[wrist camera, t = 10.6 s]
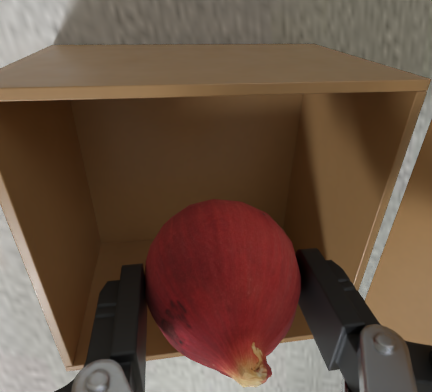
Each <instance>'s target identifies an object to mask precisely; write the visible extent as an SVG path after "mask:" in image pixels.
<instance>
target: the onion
mask: <svg viewBox="0 0 432 392" xmlns="http://www.w3.org/2000/svg"><path fill="white" fill-rule="evenodd" d="M300 292H301V274H300V271H299V267H298V263H297V259H296V256H295V252H294V248H293V244H292V242H291V240H290V239H289V237H288V236H287V235H286V233H285V232H284V231H283V229H282V228H281V227H280V226H279V225H278V224H277V223H276V222H275V221H274V220H273V219H272V218H271V216H270V215H269V214H268V213H266V212H264V211H261V210H259V209H257V208H255V207H253V206H250V205H248V204H246V203H244V202H240V201H231V200H220V199H210V200H207V201H203V202H199V203H195V204H191V205H189V206H187V207H186V208H184V209H183V210H181V211H180V212H178V213H177V214H175V215H174V216H172V217H171V218H170V219H169V220H168V221H167V222H166V223H165V224H164V225H163V226H162V228H161V229H160V231H159V232H158V234H157V236H156V237H155V239H154V240H153V242H152V243H151V245H150V248H149V252H148V255H147V259H146V265H145V298H146V303H147V305H148V308H149V310H150V312H151V315H152V317H153V318H154V320H155V322H156V323H157V325H158V327H159V328H160V330H161V332H162V333H163V335H164V336H165V338H166V339H167V340H168V341H169V343H170V344H171V345H172V346H173V347H174V348H175V349H176V350H177V351H179V352H180V353H181V354H183V355H184V356H186V357H188V358H189V359H191V360H193V361H195V362H198V363H200V364H202V365H204V366H207V367H209V368H212V369H215V370H217V371H219V372H220V373H222V374H224V375H226V376H228V377H230V378H233V379H234V380H235V381H237V382H238V383H239V384H240V385H241V386H243V387H249V386H252V387H258V386H259V385H261V384H263V383H265V382H266V380H267V379H268V378H269V377H271V375H272V372H271V368H270V366H269V365H268V364H267V361H266V356H267V355H269V354H270V353H271V352H272V351H273V350H274V349H275V348H276V346H277V345H278V344H279V343H280V342H281V341H282V340H283V338H284V337H285V336H286V334H287V333H288V331H289V329H290V328H291V325H292V323H293V321H294V318H295V314H296V309H297V305H298V301H299V296H300Z"/></svg>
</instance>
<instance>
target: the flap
mask: <svg viewBox="0 0 432 392" xmlns="http://www.w3.org/2000/svg"><path fill="white" fill-rule="evenodd" d="M365 302H366V304H367V305H368V307H369V308H370V310H371V311H372V313H373V314H374V316H375V317H376V319H377V320H378V322H379V323H380V324H381V325H383V326H386V327H388V328H390V329H392V330H394V331H395V332H396V333H398V334H399V335H400V336H401V337H402V338H403V339H404V340H405V341H409V342H414V343H419V344H425V345H431V346H432V120H431V122H430V125H429V128H428V131H427V133H426V136H425V139H424V141H423V144H422V147H421V150H420V152H419V155H418V158H417V160H416V163H415V166H414V169H413V171H412V174H411V177H410V179H409V182H408V185H407V188H406V190H405V193H404V196H403V198H402V201H401V204H400V207H399V209H398V212H397V215H396V217H395V220H394V223H393V225H392V228H391V231H390V234H389V236H388V239H387V242H386V244H385V247H384V250H383V253H382V255H381V258H380V261H379V263H378V266H377V269H376V272H375V274H374V277H373V280H372V282H371V285H370V288H369V291H368V293H367V296H366V299H365Z"/></svg>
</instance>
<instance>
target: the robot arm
mask: <svg viewBox="0 0 432 392" xmlns="http://www.w3.org/2000/svg"><path fill="white" fill-rule="evenodd" d="M295 256H296V259H297V263H298V267H299V271H300V274H301V292H300V296H299V301H298V304H299V306H300V308H301V311H302V313H303V315H304V317H305V319H306V322H307V324H308V326H309V328H310V330H311V333H312V335H313V337H314V339H315V341H316V344H317V346H318V348H319V350H320V352H321V355H322V357H323V359H324V361H325V363H326V366H327V368H328V370H329V371H331V370H337V369H340V371H341V373H342V375H343V380H342V392H432V346H431V345H425V344H419V343H414V342H409V341H405V340H404V339H403V338H402V337H401V336H400V335H399V334H398V333H396V332H395V331H394V330H392V329H390V328H388V327H386V326H383V325H381V324H380V323H379V322H378V320H377V319H376V317H375V316H374V314H373V313H372V311H371V310H370V308H369V307H368V305H367V304H366V302H365V301H364V299H363V298H362V297H361V295H360V294H359V292H358V291H357V290H356V288H355V286H354V285H353V283H352V282H351V281H350V279H349V277H348V276H347V274H346V273H345V271H344V270H343V268H341V267H340V266H339V265H337V264H336V263H335V262H334V261H332V260H325V259H324V257H323V256H322V254H321V252H320V251H319V250H318V249H317V248H309V249H298V250H297V251H296V254H295ZM147 308H148V305H147V303H146V298H145V275H144V268H143V264H142V263H140V264H129V265H122V267H121V274H120V280H113V281H107V283H106V284H105V286H104V287H103V288H102V290H101V291H100V293H99V297H98V302H97V308H96V313H95V319H94V323H93V328H92V333H91V338H90V343H89V348H88V353H87V358H86V362H85V364H84V367H83V368H82V370H81V371H80V372H79V373H78V374H77V376H76V377H75V379H74V380H73V381H71V382H70V383H69V384H68V385H66V386H65V387H63V388H61V389H59V390H57V391H55V392H145V367H146V338H147Z"/></svg>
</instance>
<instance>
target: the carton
mask: <svg viewBox="0 0 432 392" xmlns="http://www.w3.org/2000/svg"><path fill="white" fill-rule="evenodd" d="M430 81H431V79H429V78H425V77H422V76H419V75H415V74H412V73H409V72H405V71H402V70H399V69H395V68H392V67H389V66H385V65H382V64H379V63H376V62H372V61H369V60H366V59H362V58H359V57H356V56H352V55H349V54H346V53H342V52H339V51H336V50H332V49H329V48H326V47H322V46H319V45H316V44H125V45H51V46H49V47H47V48H45V49H42V50H40V51H38V52H36V53H33V54H31V55H29V56H27V57H25V58H22V59H20V60H18V61H16V62H14V63H11V64H9V65H7V66H5V67H3V68H0V204H1V207H2V209H3V212H4V214H5V217H6V219H7V222H8V225H9V227H10V230H11V232H12V235H13V237H14V240H15V242H16V245H17V247H18V250H19V252H20V255H21V257H22V260H23V262H24V265H25V267H26V270H27V272H28V275H29V278H30V280H31V283H32V285H33V288H34V290H35V293H36V295H37V298H38V300H39V303H40V305H41V308H42V310H43V313H44V315H45V318H46V320H47V323H48V326H49V328H50V331H51V333H52V336H53V338H54V341H55V343H56V346H57V348H58V351H59V353H60V356H61V358H62V361H63V363H64V366H65V368H66V371H74V370H81V369H82V368H83V367H84V364H85V362H86V358H87V353H88V348H89V343H90V338H91V333H92V328H93V323H94V319H95V313H96V308H97V302H98V297H99V293H100V291H101V290H102V288H103V287H104V286H105V284H106V283H107V281H113V280H120V274H121V267H122V265H129V264H140V263H142V264H143V268H144V275H145V265H146V259H147V255H148V252H149V248H150V245H151V243H152V242H153V240H154V239H155V237H156V236H157V234H158V232H159V231H160V229H161V228H162V226H163V225H164V224H165V223H166V222H167V221H168V220H169V219H170V218H171V217H172V216H174V215H175V214H177V213H178V212H180V211H181V210H183V209H184V208H186V207H187V206H189V205H191V204H195V203H199V202H203V201H207V200H210V199H220V200H231V201H240V202H244V203H246V204H248V205H250V206H253V207H255V208H257V209H259V210H261V211H264V212H266V213H268V214H269V215H270V216H271V218H272V219H273V220H274V221H275V222H276V223H277V224H278V225H279V226H280V227H281V228H282V229H283V231H284V232H285V233H286V235H287V236H288V237H289V239H290V240H291V242H292V244H293V248H294V252H295V254H296V251H297V250H298V249H309V248H317V249H318V250H319V251H320V252H321V254H322V256H323V257H324V259H325V260H332V261H334V262H335V263H336V264H337V265H339V266H340V267H341V268H343V270H344V271H345V273H346V274H347V276H348V277H349V279H350V281H351V282H352V283H353V285H354V286H355V288H356V290H357V291H358V290H359V287H360V284H361V281H362V278H363V275H364V273H365V270H366V267H367V264H368V261H369V258H370V255H371V252H372V249H373V246H374V244H375V241H376V238H377V235H378V232H379V229H380V226H381V223H382V220H383V218H384V215H385V212H386V209H387V206H388V203H389V200H390V197H391V194H392V191H393V189H394V186H395V183H396V180H397V177H398V174H399V171H400V168H401V165H402V162H403V160H404V157H405V154H406V151H407V148H408V145H409V142H410V139H411V136H412V134H413V131H414V128H415V125H416V122H417V119H418V116H419V113H420V110H421V107H422V105H423V102H424V99H425V96H426V93H427V90H428V87H429V84H430ZM307 339H314V337H313V335H312V333H311V330H310V328H309V326H308V324H307V322H306V319H305V317H304V315H303V313H302V311H301V308H300V306H299V304H298V305H297V309H296V314H295V318H294V321H293V323H292V325H291V328H290V329H289V331H288V333H287V334H286V336H285V337H284V338H283V340H282V341H281V342H280V343H284V342H291V341H299V340H307ZM179 356H184V355H183V354H181V353H180V352H179V351H177V350H176V349H175V348H174V347H173V346H172V345H171V344H170V343H169V341H168V340H167V339H166V338H165V336H164V335H163V333H162V332H161V330H160V328H159V327H158V325H157V323H156V322H155V320H154V318H153V317H152V315H151V312H150V310H149V308H147V338H146V361H149V360H156V359H164V358H171V357H179Z"/></svg>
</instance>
